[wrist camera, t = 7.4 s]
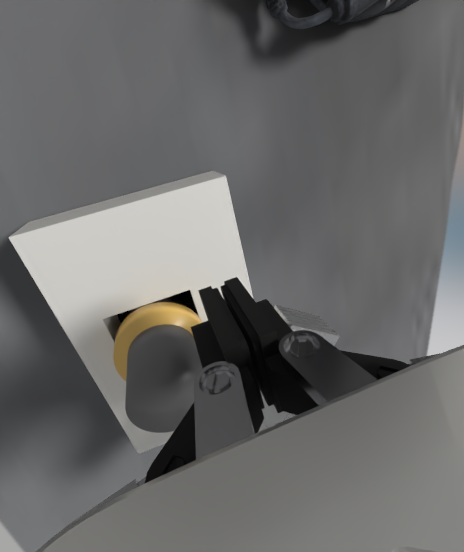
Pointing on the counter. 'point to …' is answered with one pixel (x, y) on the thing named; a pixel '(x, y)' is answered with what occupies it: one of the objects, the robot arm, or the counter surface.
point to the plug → (158, 363)
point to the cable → (336, 11)
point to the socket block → (131, 267)
